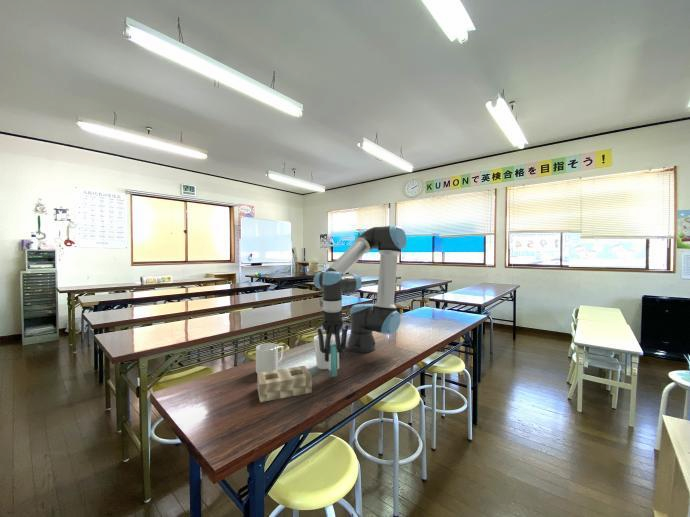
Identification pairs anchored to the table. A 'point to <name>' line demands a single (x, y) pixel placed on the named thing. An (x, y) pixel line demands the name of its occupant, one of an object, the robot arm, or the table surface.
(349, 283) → the robot arm
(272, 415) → the table surface
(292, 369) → the hole block
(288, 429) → the table surface
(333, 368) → the peg
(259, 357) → the mug
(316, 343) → the foam cup
